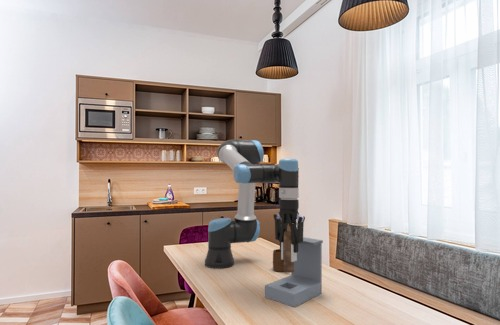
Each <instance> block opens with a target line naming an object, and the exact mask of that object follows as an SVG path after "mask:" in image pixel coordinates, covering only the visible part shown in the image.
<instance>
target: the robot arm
mask: <svg viewBox="0 0 500 325" xmlns="http://www.w3.org/2000/svg"><path fill="white" fill-rule="evenodd" d="M216 155H217V157H218V160H219V161H220V162H221V163H223V164H225V165H227V166H228V167H229V168H230V169H231V170H232V172H233V179H234V182H236V183H237V184H238V192H237V193H238V195H237V196H238V197H237V213H236V214H235V215H234V219H233V220H232V219H231V218H230V217H221V218H215V219H211V220H210V221H209V223H208V229H207V231H208V234H207V236H208V237H207V238H208V241H207V242H208V243H207V244H208V246H207V248H208V249H207V254H206V257H205V259H204V266H205V267H207V268H210V269H226V268H227V269H228V268H230V267H233V266H235V258H234V256H233V253H232V252H233V251H232V249H231V248H232V244H239V243H241V244H242V243H252V242H256V241H257V239H258V238H259V236H260V232H261V225H260V224H261V223H260V221H259V220H258V219H257V216H256V215H255V196H256V195H255V194H256V184H278V198H279V200H278V207H279V208H278V209H279V212H278V213H276V214H273V215H272V216H273V219H274V232H275V233H274V236H275V237H274V238H275V240H276V241H278V242H279V249H280V250H281V259H282V260H284V231H288V227H289V228H290V229H289V230H290V231H291V235H292V241H293V243H292V244H291V262H294V261H297V252H298V244H299V243H301V242H303V237H304V223H305V220H306V217H305V216H302V215H300V213H299V205H300V204H299V198H300V197H299V195H300V194H299V178H300V177H299V174H300V173H299V169H300V168H299V161H298V159H296V158H281V159H279V161H278V164H261V163H262V162H263V161H264V160H263V159H264V148H263V145H262V143H261V142H260V141H258V140H254V139H233V138H232V139H227V140H226V141H223V142H222V143H221V144H219V146H218V148H217V151H216Z"/></svg>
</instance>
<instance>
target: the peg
mask: <svg viewBox="0 0 500 325" xmlns="http://www.w3.org/2000/svg"><path fill="white" fill-rule="evenodd" d="M292 243H293V241H292V235H291V230H287V231H284V271H285V272H284V273H291V272H294V262H291V244H292Z"/></svg>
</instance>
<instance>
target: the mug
mask: <svg viewBox="0 0 500 325" xmlns="http://www.w3.org/2000/svg"><path fill="white" fill-rule="evenodd" d="M272 252H273V253H272V269H273V271H274V272H276V273H286V272H285V271H284V260H282V259H281V250H280V248H278V249H273V251H272Z"/></svg>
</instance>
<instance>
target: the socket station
mask: <svg viewBox="0 0 500 325" xmlns="http://www.w3.org/2000/svg"><path fill="white" fill-rule="evenodd" d="M323 242H324V240H322V239H316V238H310V237H304V236H303V242H301V243H299V244H298V252H297V261H294V272H290V275H288V276H285V277H283V278H280V279H277V280H275V281H272V282H270V283H267V284H265V285H264V298H266V299H269V300H273V301H275V302H277V303H282V304H284V305H287V306H291V307H294V308H296V307H297V306H299V305H302V304H303V303H305V302H308V301H309V300H312V299H314V298H315V297H317V296H320V295H322V294H323V293H322V292H323V290H322V287H323V286H322V280H323V279H322V277H323V276H322V274H323V273H322V272H323V271H322V268H323V267H322V265H323V264H322V263H323V262H322V259H323V258H322V257H323V255H322V253H323V252H322V249H323V248H322V245H323Z"/></svg>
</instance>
